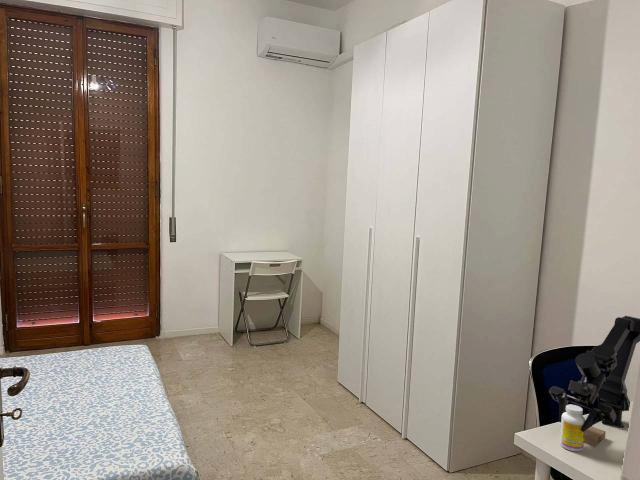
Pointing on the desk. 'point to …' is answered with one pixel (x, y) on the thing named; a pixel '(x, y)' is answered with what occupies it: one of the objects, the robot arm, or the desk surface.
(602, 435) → the walnut plinth
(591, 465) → the desk surface
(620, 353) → the robot arm
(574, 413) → the supplement bottle
